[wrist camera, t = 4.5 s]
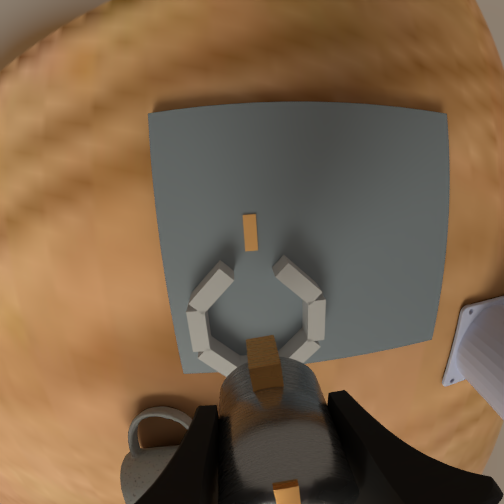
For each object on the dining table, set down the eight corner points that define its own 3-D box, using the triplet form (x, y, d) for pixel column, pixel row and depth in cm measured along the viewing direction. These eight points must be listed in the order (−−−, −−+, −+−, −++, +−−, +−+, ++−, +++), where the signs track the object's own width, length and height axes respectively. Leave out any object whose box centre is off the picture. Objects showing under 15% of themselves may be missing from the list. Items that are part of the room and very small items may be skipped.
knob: (319, 418, 12) (355, 524, 7) (230, 433, 12) (233, 545, 7) (314, 326, 11) (372, 445, 6) (204, 345, 11) (190, 476, 6)
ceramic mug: (248, 467, 24) (253, 535, 17) (169, 480, 24) (160, 542, 17) (199, 390, 21) (190, 472, 14) (109, 408, 22) (80, 478, 14)
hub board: (439, 114, 17) (460, 111, 15) (426, 334, 21) (441, 349, 19) (151, 115, 16) (140, 109, 14) (185, 366, 20) (181, 387, 18)
